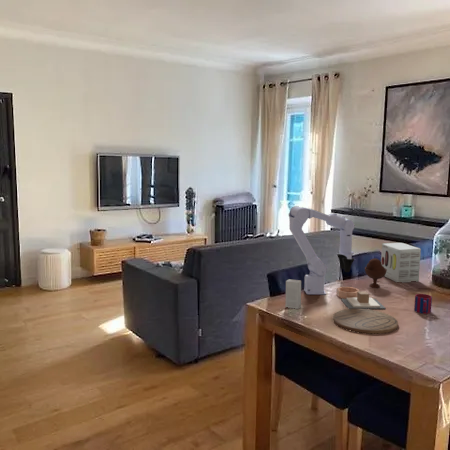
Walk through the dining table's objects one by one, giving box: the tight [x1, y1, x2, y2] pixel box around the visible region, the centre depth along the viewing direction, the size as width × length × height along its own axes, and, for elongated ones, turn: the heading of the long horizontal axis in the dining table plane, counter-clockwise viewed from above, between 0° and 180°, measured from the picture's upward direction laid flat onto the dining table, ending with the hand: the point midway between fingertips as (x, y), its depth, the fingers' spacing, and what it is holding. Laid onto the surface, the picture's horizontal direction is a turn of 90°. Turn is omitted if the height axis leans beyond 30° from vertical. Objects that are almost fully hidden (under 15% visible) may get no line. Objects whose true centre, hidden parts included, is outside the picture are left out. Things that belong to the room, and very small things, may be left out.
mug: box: [413, 293, 433, 315], centre depth 198 cm, size 7×10×7 cm
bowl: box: [336, 286, 361, 299], centre depth 222 cm, size 10×10×3 cm
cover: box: [346, 291, 380, 307], centre depth 209 cm, size 12×12×5 cm
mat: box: [340, 298, 386, 310], centre depth 209 cm, size 16×13×1 cm
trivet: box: [332, 308, 399, 335], centre depth 187 cm, size 25×25×2 cm
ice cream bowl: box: [364, 258, 387, 289], centre depth 236 cm, size 11×11×15 cm
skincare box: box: [285, 278, 302, 310], centre depth 204 cm, size 6×4×12 cm
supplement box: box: [380, 242, 422, 283], centre depth 253 cm, size 17×13×18 cm
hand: (345, 270), depth 229 cm, fingers open, 7 cm apart
